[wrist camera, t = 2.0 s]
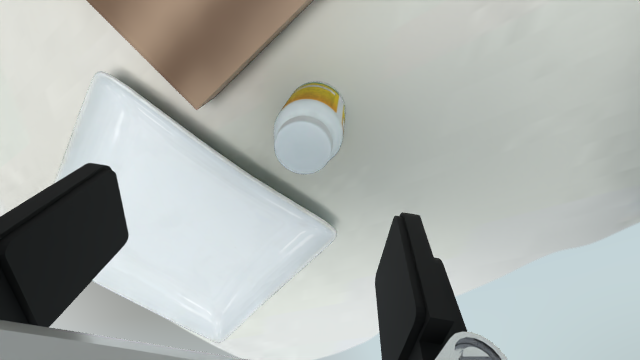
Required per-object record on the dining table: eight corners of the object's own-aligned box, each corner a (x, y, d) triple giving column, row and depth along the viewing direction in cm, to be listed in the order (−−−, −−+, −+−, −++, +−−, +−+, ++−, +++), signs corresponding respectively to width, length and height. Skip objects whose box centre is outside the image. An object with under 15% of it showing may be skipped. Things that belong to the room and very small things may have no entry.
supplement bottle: (354, 121, 31) (355, 167, 22) (305, 143, 32) (289, 194, 24) (329, 69, 28) (319, 97, 20) (278, 95, 30) (249, 132, 22)
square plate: (50, 230, 42) (24, 250, 39) (122, 58, 30) (93, 65, 27) (226, 325, 48) (217, 350, 45) (343, 215, 37) (342, 237, 33)
